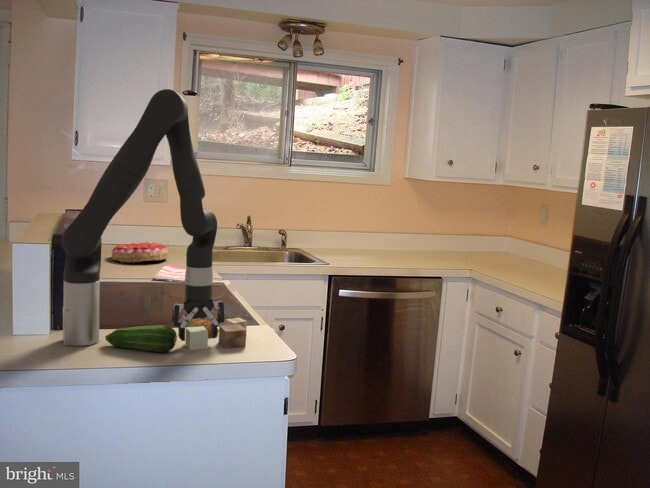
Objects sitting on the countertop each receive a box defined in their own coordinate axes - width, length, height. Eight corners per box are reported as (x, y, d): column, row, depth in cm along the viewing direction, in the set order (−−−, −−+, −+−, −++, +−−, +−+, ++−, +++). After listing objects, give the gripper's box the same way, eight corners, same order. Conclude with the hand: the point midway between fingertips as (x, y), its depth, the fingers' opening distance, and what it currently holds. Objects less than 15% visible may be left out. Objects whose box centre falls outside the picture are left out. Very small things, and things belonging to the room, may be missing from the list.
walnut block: (225, 349, 183) (225, 331, 183) (218, 342, 189) (219, 325, 188) (245, 347, 186) (246, 330, 185) (238, 341, 191) (239, 324, 191)
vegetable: (173, 324, 174) (102, 317, 178) (168, 351, 172) (96, 344, 175) (182, 329, 181) (114, 323, 184) (177, 355, 179) (108, 348, 182)
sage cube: (189, 350, 181) (190, 332, 180) (185, 344, 185) (185, 327, 184) (207, 348, 183) (208, 331, 182) (202, 343, 187) (203, 326, 187)
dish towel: (203, 272, 287) (203, 264, 286) (194, 284, 264) (195, 275, 263) (163, 270, 286) (163, 262, 286) (151, 282, 263) (151, 273, 263)
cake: (169, 263, 296) (169, 245, 295) (110, 265, 289) (110, 247, 288) (167, 257, 320) (167, 240, 319) (113, 258, 313) (112, 241, 312)
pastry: (224, 334, 197) (224, 322, 196) (207, 339, 191) (208, 327, 191) (202, 328, 202) (202, 316, 202) (185, 332, 197) (185, 320, 196)
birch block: (233, 337, 194) (234, 323, 193) (225, 334, 197) (225, 319, 197) (246, 335, 197) (246, 321, 196) (238, 332, 200) (238, 317, 200)
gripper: (176, 286, 175) (175, 345, 178) (228, 283, 181) (226, 340, 184) (169, 280, 182) (169, 337, 184) (220, 277, 188) (218, 333, 190)
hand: (197, 338), depth 184 cm, fingers open, 8 cm apart
